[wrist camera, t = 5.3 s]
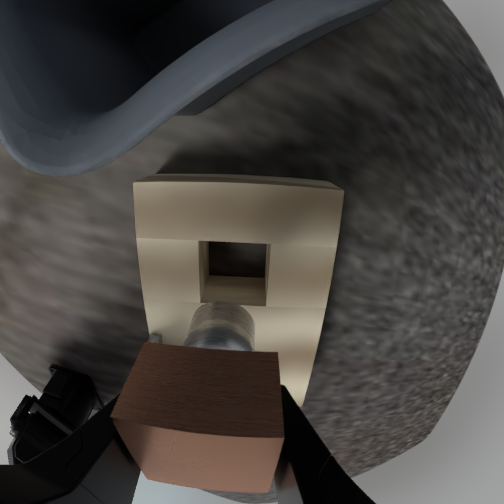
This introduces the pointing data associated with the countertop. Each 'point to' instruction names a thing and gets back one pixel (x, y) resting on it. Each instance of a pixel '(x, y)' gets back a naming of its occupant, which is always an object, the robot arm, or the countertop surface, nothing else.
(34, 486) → the robot arm
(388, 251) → the countertop surface
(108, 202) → the countertop surface
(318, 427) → the countertop surface
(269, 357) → the peg
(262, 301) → the block
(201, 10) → the storage bin
